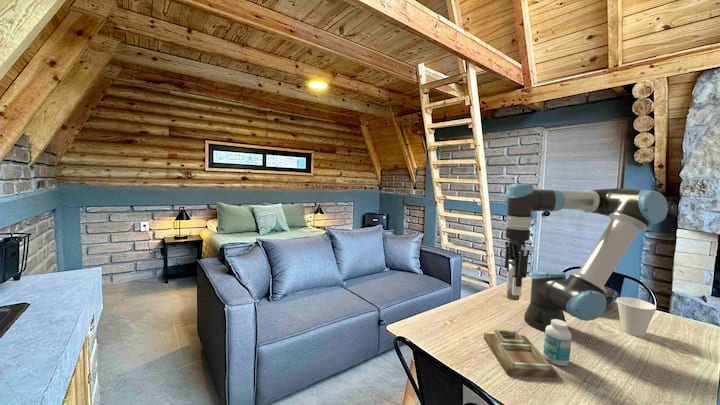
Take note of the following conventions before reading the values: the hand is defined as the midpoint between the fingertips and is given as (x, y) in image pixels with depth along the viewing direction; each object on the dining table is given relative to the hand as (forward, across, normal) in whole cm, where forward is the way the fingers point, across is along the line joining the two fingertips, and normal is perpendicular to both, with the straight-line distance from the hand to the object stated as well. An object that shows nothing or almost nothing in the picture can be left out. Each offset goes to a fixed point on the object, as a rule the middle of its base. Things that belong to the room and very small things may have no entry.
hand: (513, 292), depth 107 cm
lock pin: (+2, 0, 0) cm, 2 cm away
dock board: (+20, +6, 0) cm, 21 cm away
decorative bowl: (+21, -43, +54) cm, 72 cm away
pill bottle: (+21, +7, +12) cm, 25 cm away
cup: (+21, -16, +55) cm, 61 cm away
